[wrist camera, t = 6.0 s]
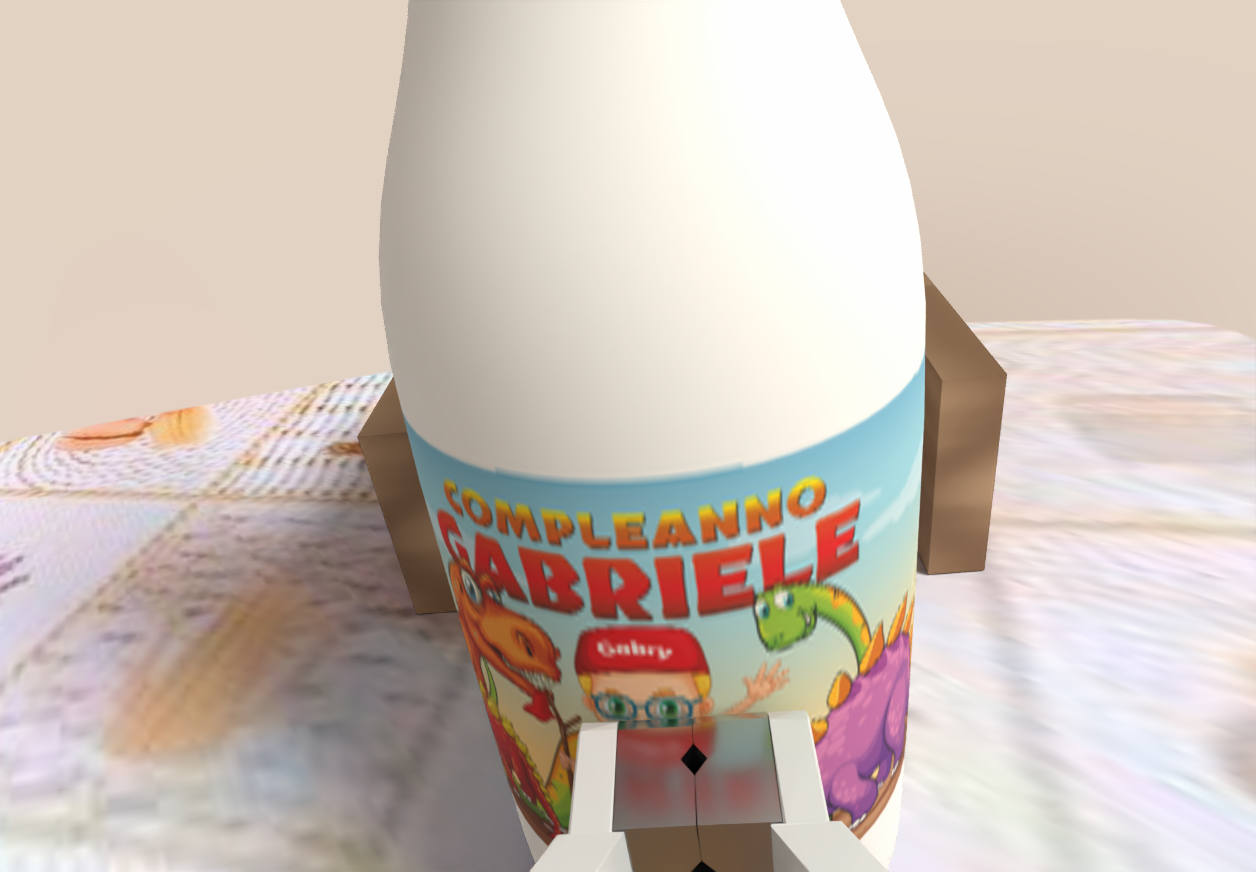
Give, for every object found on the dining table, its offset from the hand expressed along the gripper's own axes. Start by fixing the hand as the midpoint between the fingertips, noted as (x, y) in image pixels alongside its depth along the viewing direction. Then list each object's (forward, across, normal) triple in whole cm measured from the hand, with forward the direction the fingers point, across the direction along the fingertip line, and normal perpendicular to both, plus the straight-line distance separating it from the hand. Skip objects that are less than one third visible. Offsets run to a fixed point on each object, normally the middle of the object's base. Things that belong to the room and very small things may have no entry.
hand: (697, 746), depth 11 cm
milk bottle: (+4, 0, -7) cm, 8 cm away
